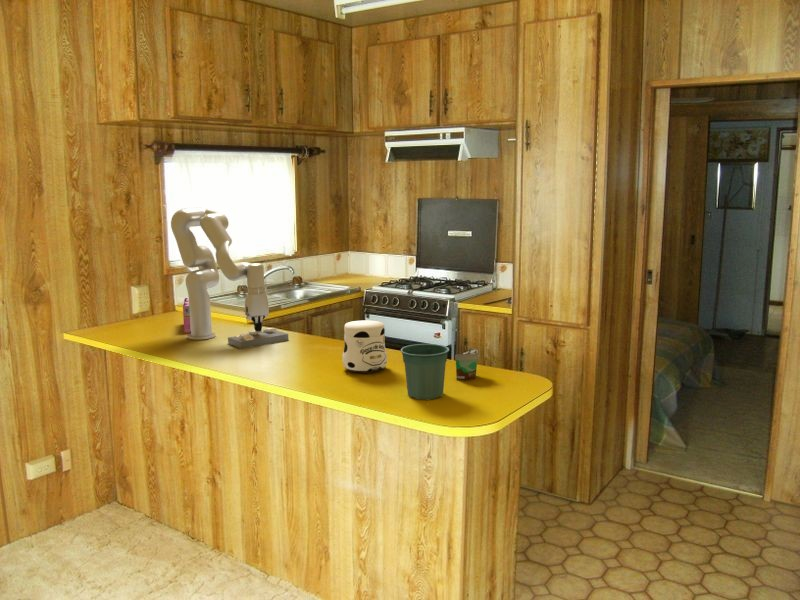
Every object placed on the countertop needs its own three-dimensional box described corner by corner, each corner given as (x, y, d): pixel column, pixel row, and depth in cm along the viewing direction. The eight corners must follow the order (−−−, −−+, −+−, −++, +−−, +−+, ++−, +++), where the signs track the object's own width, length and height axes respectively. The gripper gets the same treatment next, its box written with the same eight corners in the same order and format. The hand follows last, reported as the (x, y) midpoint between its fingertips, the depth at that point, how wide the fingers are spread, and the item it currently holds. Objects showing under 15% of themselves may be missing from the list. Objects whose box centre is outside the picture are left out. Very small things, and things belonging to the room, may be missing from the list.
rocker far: (263, 332, 330) (262, 328, 330) (270, 331, 332) (269, 327, 332) (269, 332, 325) (269, 328, 325) (276, 330, 328) (275, 327, 327)
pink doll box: (186, 323, 365) (184, 297, 362) (202, 322, 366) (200, 296, 364) (183, 333, 342) (182, 305, 339) (201, 332, 344) (199, 304, 341)
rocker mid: (248, 334, 325) (248, 331, 325) (255, 333, 327) (255, 329, 327) (254, 334, 320) (254, 330, 320) (261, 333, 323) (261, 329, 323)
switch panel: (228, 343, 319) (227, 336, 319) (275, 335, 334) (274, 329, 334) (240, 348, 310) (240, 341, 310) (288, 340, 325) (288, 333, 325)
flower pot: (391, 397, 241) (391, 351, 238) (416, 385, 255) (416, 341, 252) (434, 405, 232) (434, 357, 230) (457, 392, 246) (457, 346, 243)
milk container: (377, 377, 264) (376, 330, 261) (335, 373, 270) (334, 327, 267) (393, 366, 280) (393, 321, 277) (353, 362, 286) (352, 318, 283)
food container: (469, 383, 256) (470, 356, 254) (454, 381, 259) (454, 354, 258) (484, 375, 266) (485, 349, 265) (469, 373, 270) (470, 347, 268)
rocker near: (239, 336, 316) (239, 333, 315) (246, 335, 318) (247, 332, 318) (246, 341, 312) (246, 338, 311) (253, 340, 314) (253, 336, 313)
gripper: (266, 288, 326) (268, 327, 329) (237, 291, 317) (239, 332, 320) (275, 289, 320) (276, 329, 324) (245, 293, 311) (247, 334, 314)
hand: (258, 330), depth 322 cm, fingers closed
